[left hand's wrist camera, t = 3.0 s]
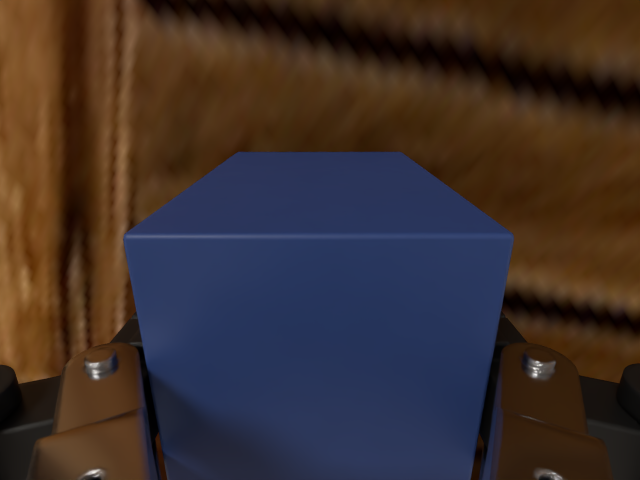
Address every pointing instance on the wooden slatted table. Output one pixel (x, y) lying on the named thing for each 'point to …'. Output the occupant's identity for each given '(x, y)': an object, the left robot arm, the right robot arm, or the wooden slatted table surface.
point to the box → (318, 319)
